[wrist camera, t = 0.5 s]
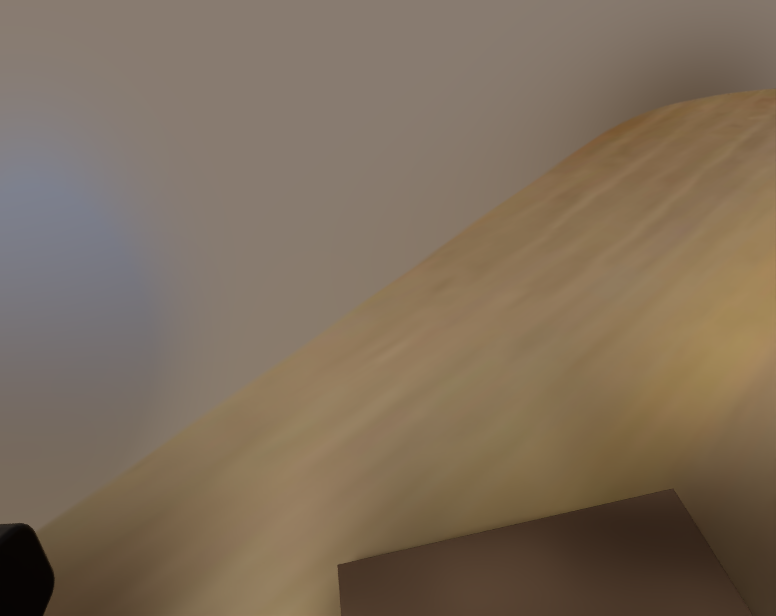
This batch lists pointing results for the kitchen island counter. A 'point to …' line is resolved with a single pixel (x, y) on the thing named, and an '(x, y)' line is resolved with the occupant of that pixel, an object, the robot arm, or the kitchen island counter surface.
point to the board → (554, 569)
